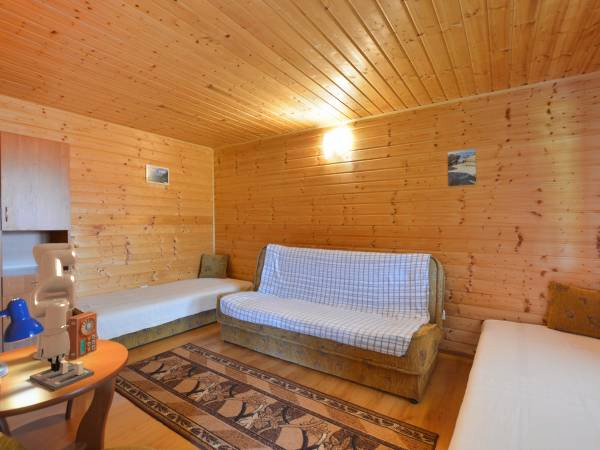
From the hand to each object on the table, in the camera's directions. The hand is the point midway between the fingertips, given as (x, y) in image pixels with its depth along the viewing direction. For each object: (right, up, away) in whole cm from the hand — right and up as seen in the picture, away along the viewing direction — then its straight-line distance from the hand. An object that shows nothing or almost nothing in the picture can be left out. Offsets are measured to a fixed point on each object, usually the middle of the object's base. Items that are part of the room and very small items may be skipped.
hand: (55, 370), depth 141 cm
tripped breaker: (+1, -2, +3) cm, 4 cm away
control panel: (-7, -4, +27) cm, 29 cm away
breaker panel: (+1, -4, +2) cm, 5 cm away
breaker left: (-4, -2, +8) cm, 10 cm away
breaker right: (+9, -2, +2) cm, 10 cm away
